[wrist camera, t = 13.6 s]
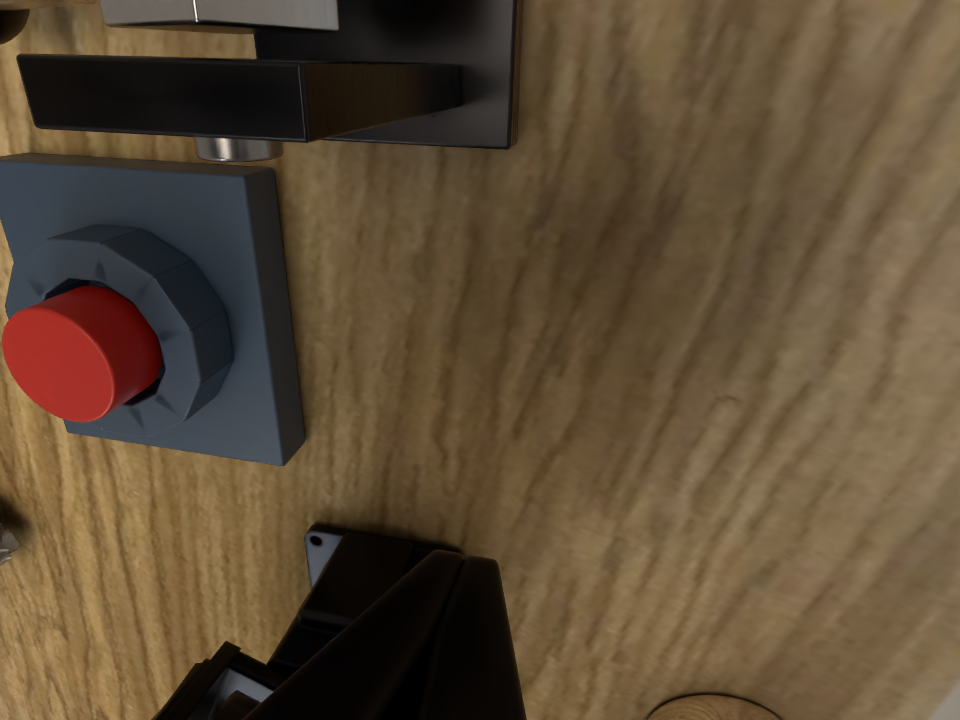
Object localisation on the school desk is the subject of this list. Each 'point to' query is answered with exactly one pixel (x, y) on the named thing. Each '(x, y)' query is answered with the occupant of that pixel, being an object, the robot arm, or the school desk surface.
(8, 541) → the figurine
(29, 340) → the red button
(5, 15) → the lever handle
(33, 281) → the button block
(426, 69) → the lever bracket
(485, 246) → the school desk surface
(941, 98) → the school desk surface
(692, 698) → the silver metal tumbler
